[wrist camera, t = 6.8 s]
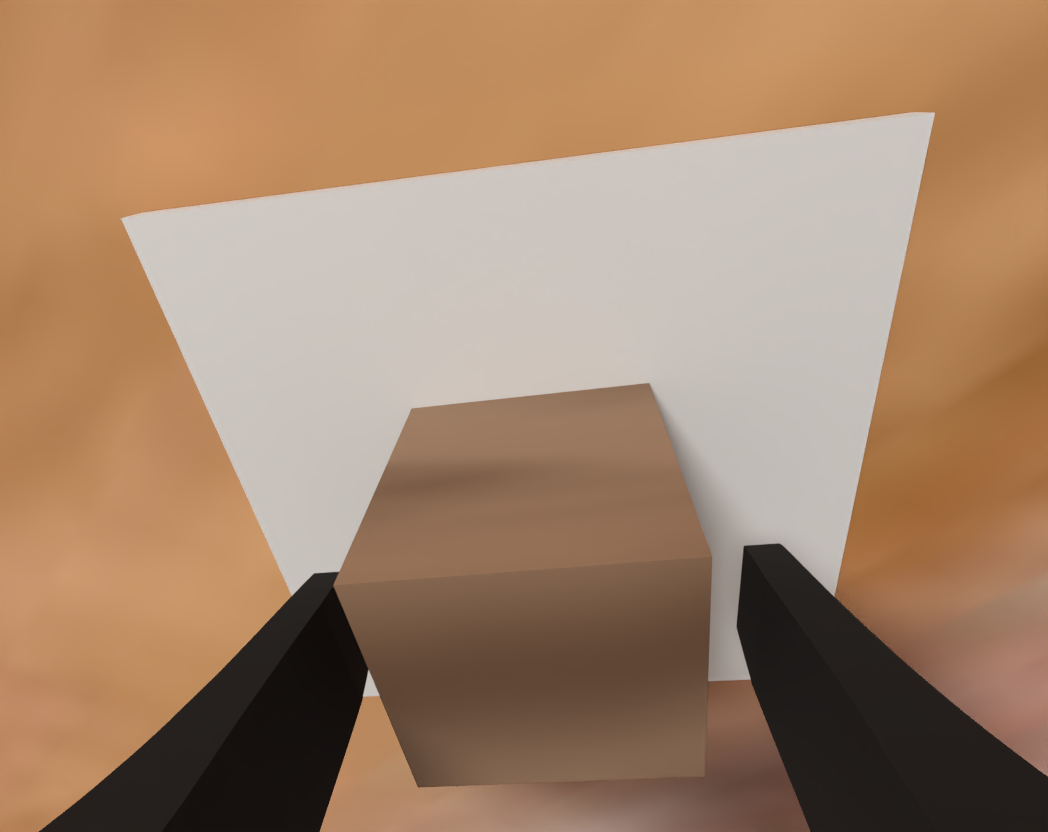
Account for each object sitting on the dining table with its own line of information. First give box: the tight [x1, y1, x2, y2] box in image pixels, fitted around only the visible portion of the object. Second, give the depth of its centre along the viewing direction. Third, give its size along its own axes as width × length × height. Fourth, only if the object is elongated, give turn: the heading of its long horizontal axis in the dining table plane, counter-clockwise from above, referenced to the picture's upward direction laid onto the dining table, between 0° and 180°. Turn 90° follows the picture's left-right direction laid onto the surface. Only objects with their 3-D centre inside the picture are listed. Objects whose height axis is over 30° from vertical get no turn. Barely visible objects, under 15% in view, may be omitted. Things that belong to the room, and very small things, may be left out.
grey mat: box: [121, 112, 935, 696], centre depth 13 cm, size 14×14×1 cm
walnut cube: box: [333, 383, 712, 787], centre depth 11 cm, size 5×5×5 cm
